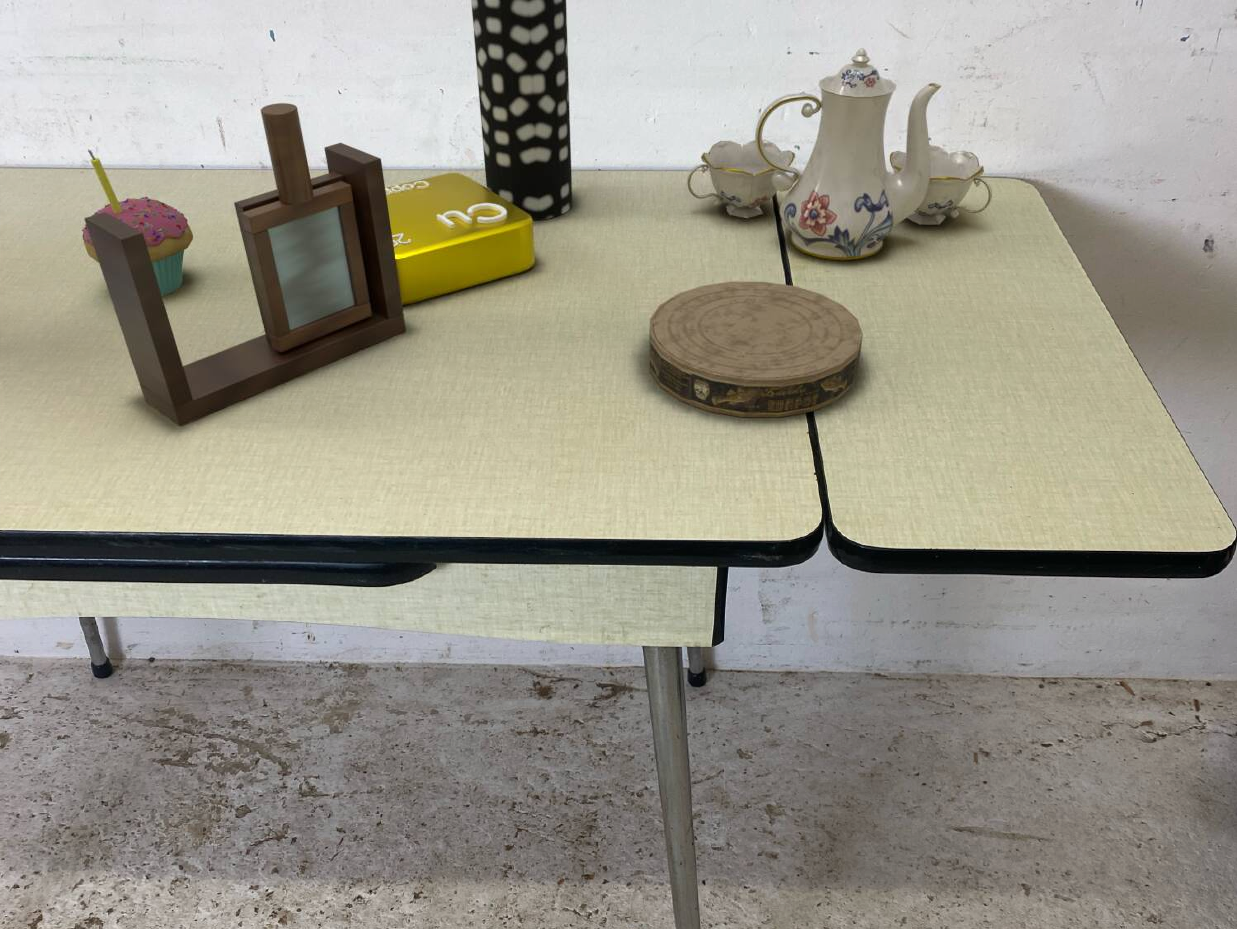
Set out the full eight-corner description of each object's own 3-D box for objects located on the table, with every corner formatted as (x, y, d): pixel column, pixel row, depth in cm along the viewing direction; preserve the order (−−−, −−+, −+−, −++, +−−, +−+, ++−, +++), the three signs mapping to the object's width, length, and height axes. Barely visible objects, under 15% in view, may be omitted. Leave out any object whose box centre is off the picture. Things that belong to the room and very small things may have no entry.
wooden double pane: (179, 426, 76) (120, 239, 67) (145, 401, 79) (83, 217, 70) (406, 330, 87) (381, 158, 78) (369, 311, 90) (340, 142, 81)
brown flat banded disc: (700, 301, 91) (701, 266, 89) (883, 341, 85) (890, 306, 83) (611, 386, 80) (611, 349, 78) (815, 439, 75) (820, 400, 73)
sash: (285, 355, 80) (232, 127, 70) (267, 345, 82) (213, 118, 71) (377, 318, 85) (341, 98, 74) (359, 308, 86) (321, 90, 75)
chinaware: (963, 213, 109) (996, 26, 99) (1008, 267, 95) (1052, 56, 86) (684, 212, 109) (690, 26, 100) (690, 265, 96) (697, 56, 86)
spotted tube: (543, 227, 103) (532, -12, 89) (471, 210, 106) (449, -23, 92) (587, 198, 108) (583, -31, 95) (517, 183, 111) (503, -41, 98)
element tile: (463, 214, 105) (458, 163, 102) (544, 267, 96) (541, 213, 93) (318, 250, 99) (308, 197, 96) (389, 311, 90) (381, 255, 86)
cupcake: (155, 315, 89) (109, 166, 81) (78, 297, 92) (26, 151, 84) (224, 275, 95) (188, 132, 87) (150, 258, 98) (107, 118, 90)
